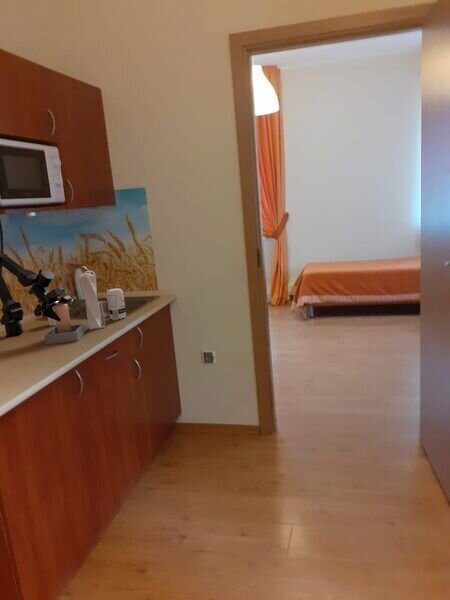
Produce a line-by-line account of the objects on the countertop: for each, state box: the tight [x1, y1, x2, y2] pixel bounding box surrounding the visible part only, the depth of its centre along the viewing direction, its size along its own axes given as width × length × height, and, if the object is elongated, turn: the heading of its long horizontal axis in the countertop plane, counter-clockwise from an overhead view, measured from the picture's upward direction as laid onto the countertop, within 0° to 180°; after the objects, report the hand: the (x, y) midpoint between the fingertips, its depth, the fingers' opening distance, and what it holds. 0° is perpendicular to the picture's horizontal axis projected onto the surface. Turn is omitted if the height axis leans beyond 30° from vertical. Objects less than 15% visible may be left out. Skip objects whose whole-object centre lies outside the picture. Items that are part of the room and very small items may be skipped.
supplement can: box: [106, 287, 127, 321], centre depth 241 cm, size 8×8×15 cm
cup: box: [54, 303, 72, 333], centre depth 213 cm, size 6×6×13 cm
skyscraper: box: [79, 270, 107, 331], centre depth 225 cm, size 8×8×28 cm
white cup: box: [46, 307, 57, 327], centre depth 243 cm, size 8×8×10 cm
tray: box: [44, 323, 86, 345], centre depth 214 cm, size 14×14×4 cm
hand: (65, 318), depth 212 cm, fingers closed on cup, 6 cm apart
